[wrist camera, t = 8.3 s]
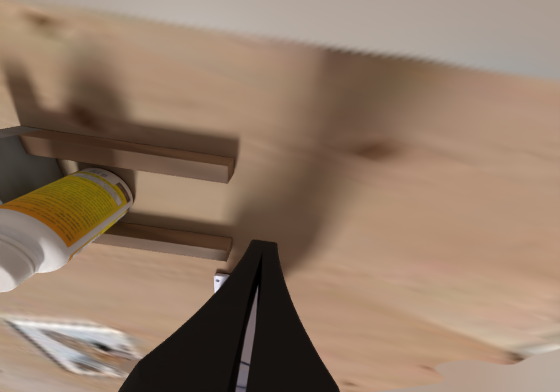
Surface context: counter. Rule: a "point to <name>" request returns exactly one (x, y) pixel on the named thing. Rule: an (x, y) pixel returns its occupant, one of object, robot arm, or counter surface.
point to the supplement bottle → (58, 222)
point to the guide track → (52, 144)
